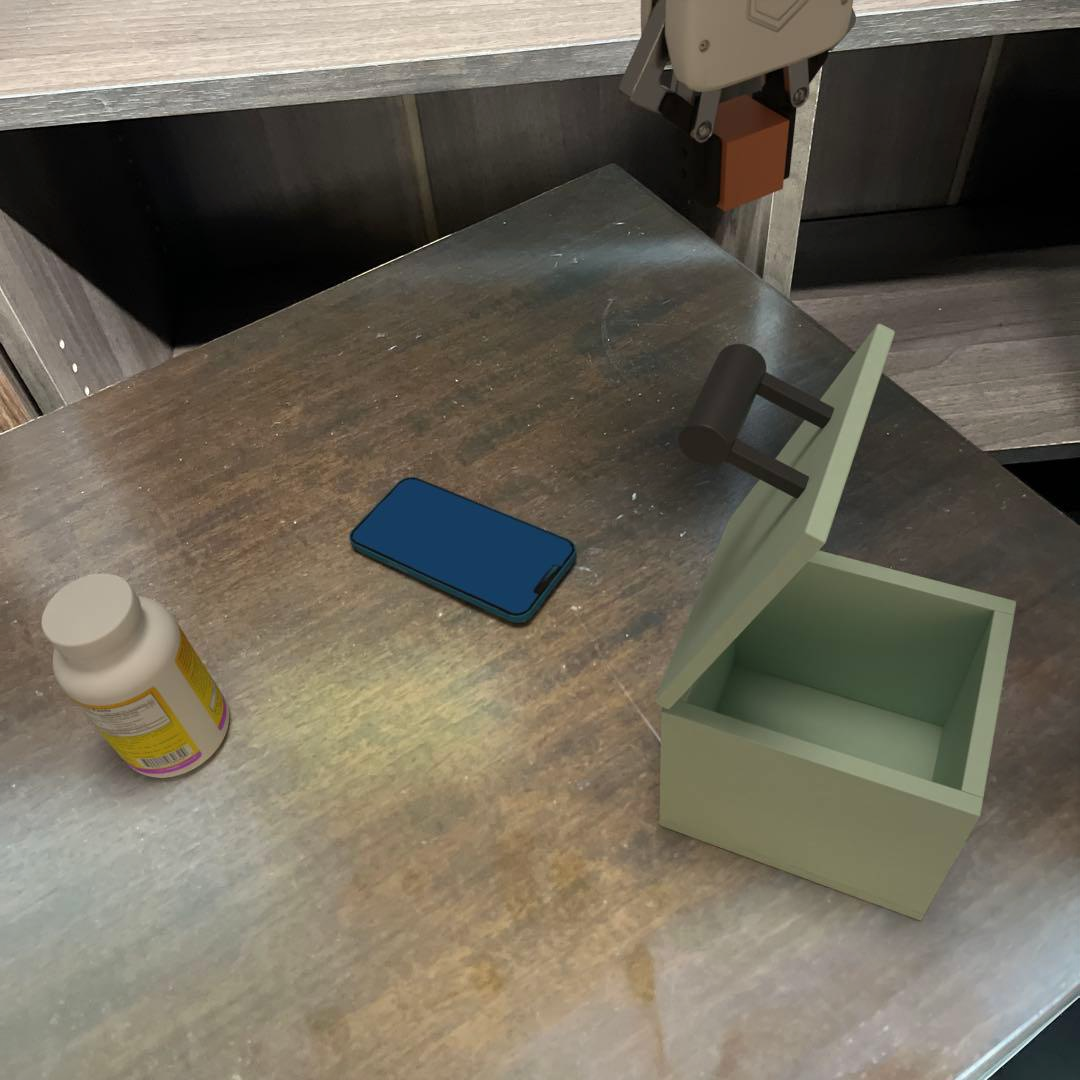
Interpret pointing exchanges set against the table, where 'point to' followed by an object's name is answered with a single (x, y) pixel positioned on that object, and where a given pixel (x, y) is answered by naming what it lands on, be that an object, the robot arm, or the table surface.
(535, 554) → the smartphone
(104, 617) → the supplement bottle
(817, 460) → the box lid
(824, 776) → the green box
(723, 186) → the block
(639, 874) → the table surface
